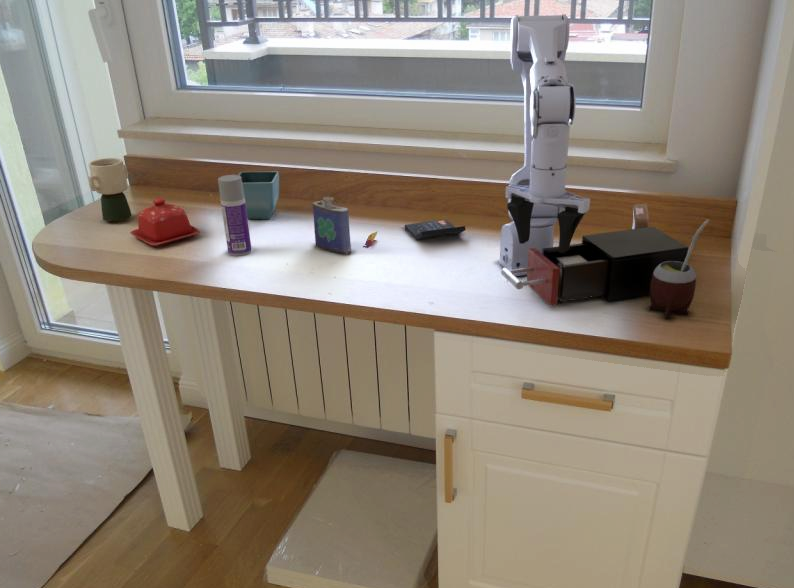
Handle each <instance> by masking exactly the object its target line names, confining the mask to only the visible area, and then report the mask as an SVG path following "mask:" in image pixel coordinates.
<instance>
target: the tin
mask: <svg viewBox="0 0 794 588" xmlns="http://www.w3.org/2000/svg"><path fill="white" fill-rule="evenodd" d="M632 215H633V216H632V224H631V225H632V226H631V229H638V228H646V227H650V218H649V217H650V216H649V209H648V203H636V204H633V205H632Z"/></svg>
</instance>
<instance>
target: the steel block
mask: <svg viewBox="0 0 794 588" xmlns="http://www.w3.org/2000/svg"><path fill="white" fill-rule="evenodd" d="M582 262H588V261H587V260H585V259H584V258H583V257H581V256H580V255H574V256H566V257H559V258H556V266H557V267H558V268H560V270H559V284H558V285H559V286H561V279H562V266H563V265H568V264H575V263H582Z"/></svg>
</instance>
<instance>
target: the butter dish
mask: <svg viewBox="0 0 794 588" xmlns="http://www.w3.org/2000/svg"><path fill="white" fill-rule="evenodd" d="M152 204H153V205H151V206H148V207H145V208H144V209H143V210H141V211H140V212H139V213H138V219H137V220H138V222H137V223H138V225H137V226H138V227H137V228H136V229H132V230H131V231H129V233H130V234H131V235H132V236H134V237H135V238H137V239H139V240H140V241H142V242H144V243H146V244H147V245H150V246H154V247H155V246H162V245H166V244H169V243H170V244H171V243H173V242H177V241H180V240H184V239H188V238H190V237H193V236H195V235H198V234H200V233H201V231H200V230H199V229H198V228H197V227H195V226H193V225H191V223H190V220H189V218H188V215H187V213H186V211H184V209H183V208H181V207H180V206H178V205H176V204H174V203H168V202H166V199H165V198H163V197H156V198H154V199H153V200H152Z"/></svg>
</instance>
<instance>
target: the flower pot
mask: <svg viewBox="0 0 794 588" xmlns="http://www.w3.org/2000/svg"><path fill="white" fill-rule="evenodd" d="M238 175H239V176H241V179H242V185H243V191H244V197H245V204H246V211H247V219H248V220H269V219H272V216H273V214H274V212H275V209H276V207H277V205H278V200H279V196H280V171H278V170H274V171H272V170H271V171H269V170H268V171H240V172H239V173H238Z"/></svg>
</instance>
